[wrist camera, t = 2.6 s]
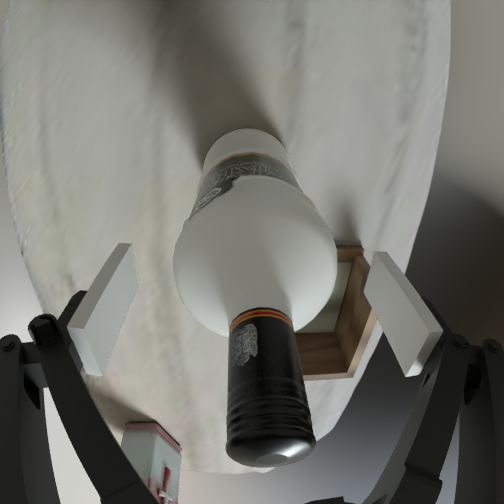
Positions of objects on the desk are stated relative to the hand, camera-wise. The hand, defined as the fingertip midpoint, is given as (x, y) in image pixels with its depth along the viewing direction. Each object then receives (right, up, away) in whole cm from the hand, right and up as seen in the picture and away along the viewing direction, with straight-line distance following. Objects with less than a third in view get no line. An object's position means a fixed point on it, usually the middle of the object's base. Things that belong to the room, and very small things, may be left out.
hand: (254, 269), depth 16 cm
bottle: (-23, -42, +46) cm, 67 cm away
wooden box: (+6, -5, +26) cm, 27 cm away
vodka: (-1, +10, +17) cm, 20 cm away
